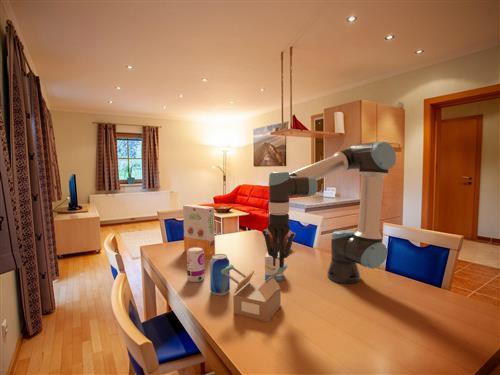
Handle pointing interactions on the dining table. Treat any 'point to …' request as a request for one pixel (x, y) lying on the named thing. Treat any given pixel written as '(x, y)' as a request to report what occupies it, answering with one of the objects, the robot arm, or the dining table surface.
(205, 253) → the cereal box
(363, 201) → the robot arm
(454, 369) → the dining table surface
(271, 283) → the near flap
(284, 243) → the food container
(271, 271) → the ink box
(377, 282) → the dining table surface
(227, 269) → the far flap
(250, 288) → the carton
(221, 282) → the beer can
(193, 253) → the supplement can
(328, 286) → the dining table surface
